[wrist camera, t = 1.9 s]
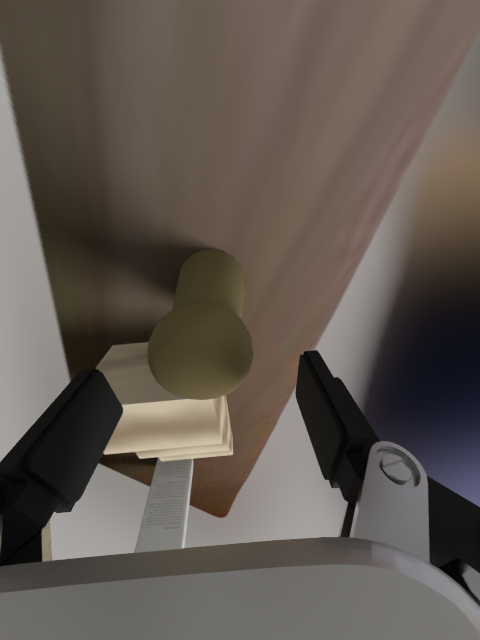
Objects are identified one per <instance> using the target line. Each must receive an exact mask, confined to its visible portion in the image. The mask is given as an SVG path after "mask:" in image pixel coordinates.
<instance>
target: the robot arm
mask: <svg viewBox="0 0 480 640" xmlns="http://www.w3.org/2000/svg"><path fill="white" fill-rule="evenodd" d="M296 398H297V402H298V405H299V408H300V411H301V413H302V417H303V420H304V422H305V425H306V428H307V431H308V434H309V437H310V440H311V443H312V446H313V448H314V451H315V454H316V457H317V460H318V463H319V466H320V469H321V472H322V474H323V477H324V478H325V480H329V482H330V485H331V487H332V488H340V490H341V492H342V495H343V498H344V500H346V505H345V509H344V514H343V518H342V522H341V526H340V531H339V535H338V537H320V538H305V539H291V540H274V541H263V542H252V543H239V544H228V545H217V546H205V547H194V548H182V549H171V550H161V551H150V552H139V553H128V554H118V555H107V556H97V557H86V558H76V559H66V560H55V561H52V552H51V537H50V536H51V534H50V518H51V516H52V514H53V512H56V513H61V512H71V510H72V508H73V506H74V504H75V502H77V501H78V500H79V499H80V498H81V496H82V494H83V492H84V490H85V488H86V486H87V484H88V482H89V480H90V478H91V476H92V474H93V472H94V470H95V468H96V466H97V464H98V462H99V460H100V458H101V456H102V454H103V452H104V450H105V448H106V446H107V444H108V442H109V440H110V438H111V436H112V434H113V432H114V430H115V428H116V426H117V424H118V422H119V420H120V418H121V416H122V414H123V407H122V405H121V403H120V402H119V400H118V398H117V396H116V395H115V393H114V391H113V390H112V388H111V386H110V384H109V383H108V381H107V379H106V378H105V376H104V374H103V373H102V372H100V371H99V370H98V369H87V370H82V371H80V372H79V373H78V374H77V375H76V377H75V378H74V379H73V380H72V381H71V382H70V383H69V384H68V386H67V387H66V388H65V389H64V390H63V391H62V393H61V394H60V395H59V396H58V397H57V398H56V399H55V401H54V402H53V403H52V404H51V405H50V406H49V407H48V408H47V410H46V411H45V412H44V413H43V414H42V415H41V416H40V418H39V419H38V420H37V421H36V422H35V423H34V424H33V425H32V427H31V428H30V429H29V430H28V431H27V432H26V433H25V435H24V436H23V437H22V438H21V439H20V440H19V442H18V443H17V444H16V445H15V446H14V447H13V448H12V450H11V451H10V452H9V453H8V454H7V455H6V456H5V457H4V458H3V460H2V461H1V462H0V640H480V507H478V506H477V505H475V504H473V503H472V502H470V501H468V500H467V499H465V498H463V497H461V496H460V495H458V494H457V493H454V492H453V491H452V490H450V489H448V488H446V487H445V486H443V485H441V484H440V483H438V482H436V481H435V480H433V479H431V478H430V477H428V476H426V473H425V471H424V469H423V467H422V465H421V464H420V463H419V462H418V460H417V459H416V458H415V457H414V456H413V455H412V454H411V453H410V452H408V451H407V450H406V449H404V448H402V447H401V446H399V445H397V444H394V443H391V442H385V441H382V442H380V440H379V439H378V437H377V436H376V434H375V432H374V431H373V429H372V428H371V426H370V424H369V423H368V421H367V420H366V418H365V417H364V415H363V413H362V412H361V410H360V409H359V407H358V406H357V404H356V402H355V401H354V399H353V398H352V396H351V395H350V393H349V391H348V390H347V388H346V387H345V385H344V383H343V382H342V381H341V380H340V379H339V378H338V377H335V378H334V377H333V375H332V374H331V372H330V370H329V369H328V367H327V365H326V364H325V362H324V360H323V359H322V357H321V355H320V354H319V352H318V351H317V350H315V351H305V352H304V354H303V355H300V359H299V368H298V377H297V385H296Z"/></svg>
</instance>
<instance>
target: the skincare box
mask: <svg viewBox="0 0 480 640" xmlns="http://www.w3.org/2000/svg"><path fill="white" fill-rule="evenodd" d="M192 474H193V459H182V460H171V461H161V460H160V459H159V457H158V459H157V463H156V467H155V471H154V475H153V479H152V483H151V487H150V492H149V495H148V499H147V503H146V507H145V511H144V516H143V519H142V523H141V527H140V532H139V536H138V540H137V544H136V548H135V552H134V553H139V552H150V551H161V550H171V549H182V548H184V547H185V537H186V528H187V518H188V510H189V500H190V491H191V482H192Z"/></svg>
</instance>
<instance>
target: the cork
mask: <svg viewBox="0 0 480 640" xmlns="http://www.w3.org/2000/svg"><path fill="white" fill-rule="evenodd" d="M245 289H246V279H245V273H244V271H243V269H242V266H241V264H240V263H239V262H238V261H237V260H236V259H235V258H234V257H233V256H231V255H230V254H228V253H226V252H224V251H221V250H216V249H207V250H200V251H198V252H196V253H194V254H192V255H190V257H189V258H188V259H187V260H186V261H185V262H184V263H183V265H182V268H181V270H180V272H179V278H178V283H177V288H176V294H175V299H174V305H173V310H171V311H170V312H169V313H168V314H167V315H166V316H165V317H163V318H162V319H161V320H160V321H159V322H158V323H157V325H156V327H155V329H154V330H153V333H152V335H151V338H150V340H149V342H148V350H147V354H148V365H149V367H150V370H151V372H152V374H153V376H154V378H155V380H156V381H157V382H158V383H159V384H160V385H161V386H162V387H163V388H164V389H165V390H167V391H169V392H171V393H172V394H174V395H176V396H180V397H183V398H187V399H194V400H207V399H216V398H218V397H221V396H224V395H227V394H229V393H230V392H232V391H233V390H235V389H236V388H237V387H238V386H239V385H240V384H241V383H242V381H243V380H244V379H245V377H246V376H247V375H248V373H249V370H250V367H251V364H252V359H253V349H252V341H251V336H250V334H249V332H248V330H247V328H246V326H245V324H244V323H243V321H242V313H243V305H244V297H245Z"/></svg>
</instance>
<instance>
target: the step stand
mask: <svg viewBox="0 0 480 640" xmlns="http://www.w3.org/2000/svg"><path fill="white" fill-rule="evenodd" d="M147 350H148V342H144V343H133V344H121V345H112V347H111V348H110V349H109V351H108V352H107V353H106V355H105V356H104V357H103V359H102V360H101V361H100V363H99V364H98V365H97V367H96V368H95V369H98V370H99V371H100V372H102V373H103V374H104V376H105V378H106V379H107V381H108V383H109V384H110V386H111V388H112V390H113V391H114V393H115V395H116V396H117V398H118V400H119V402H120V403H121V405H122V407H123V414H122V416H121V418H120V420H119V422H118V424H117V426H116V428H115V430H114V432H113V434H112V436H111V438H110V440H109V442H108V444H107V446H106V448H105V450H104V452H103V453H104V454H116V453H126V452H135V453H136V454H137V456H138V457H139V458H140V459H143V458H154V457H159V459H160V460H161V461H171V460H182V459H193V458H203V457H214V456H224V455H233V439H232V432H231V426H230V420H229V413H228V407H227V401H226V395H224V396H221V397H218V398H216V399H207V400H194V399H187V398H183V397H180V396H176V395H174V394H172V393H171V392H169V391H167V390H165V389H164V388H163V387H162V386H161V385H160V384H159V383H158V382H157V381H156V380H155V378H154V376H153V374H152V372H151V370H150V367H149V365H148V354H147Z"/></svg>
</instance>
